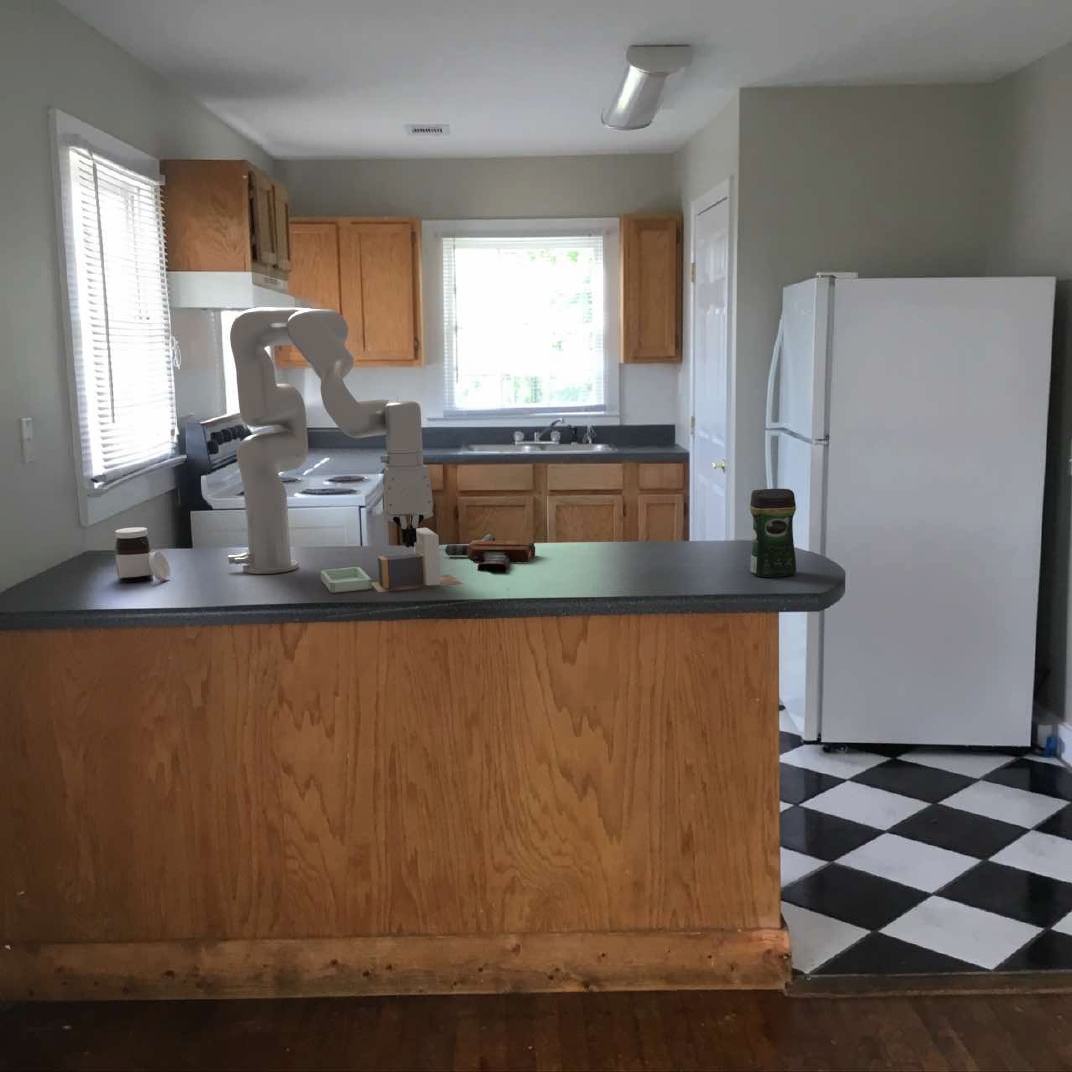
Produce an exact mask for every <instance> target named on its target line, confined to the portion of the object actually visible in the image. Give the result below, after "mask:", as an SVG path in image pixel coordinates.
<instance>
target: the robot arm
mask: <svg viewBox="0 0 1072 1072" xmlns="http://www.w3.org/2000/svg"><path fill="white" fill-rule="evenodd" d="M348 336H349V327H348V324H347V321H346V319H345V318H344V316H343V315H342V314H341V313H339V312H338V311H337V310H334V309H328V308H327V309H321V308H320V309H318V308H317V309H316V308H307V307H306V308H305V307H268V306H267V307H255V308H249V309H247V310H245V311H243V312H241V313H239V314H238V315H237V316H236V318H235V319H234V320H233V322H232V325H231V328H230V333H229V341H230V347H231V352H232V356H233V357H232V358H233V361H234V366H235V371H236V373H235V374H236V375H235V376H236V377H235V378H236V388H237V397H238V408H239V414H240V418H241V420H242V422H243V423H244V425H246V426H249V427H251V428H266V427H273V428H274V429H273V430H274V431H269V432H268V431H267V432H261V433H254V434H251V435H248V436H247V437H244V438H243V439H242V440H241V442H240V443H239V444H238V446H237V448H236V449H237V450H236V461H237V466H238V469H239V472H240V475H241V481H242V487H243V496H244V497H243V498H244V508H245V520H246V532H247V549H245V552H242V553H241V554H232V555H227V556H228V557H227V558H228V564H229V565H231V564H235V565H241V564H243V565H242V571H243V572H244V573H246V574H252V575H271V574H282V573H286V572H291V571H294V570H296V569H298V567H299V562H298V561H297V560H295V559H292V556H291V555H292V554H291V553H292V552H291V541H290V540H291V538H290V529H289V528H290V527H289V511H288V495H287V491H286V487H285V484H284V482H283V480H282V478H281V477H280V475H279V473H284V472H291V471H295V470H298V469H300V468H301V467H303V466H304V465H305V463H306V461H307V460H308V459H307V458H308V455H309V441H308V439H309V437H308V428H307V427H308V426H307V425H308V423H307V414H306V405H305V401H304V399H303V396H302V394H301V393H300V391H299V390H298V389H297V388H296V387H295V386H294V385H291V384H288V383H276V371H275V366H274V363H273V360H272V358H271V356H270V354H269V353H268V351H267V350H266V348H267V347H282V346H283V347H284V346H285V347H287V346H295V348H296V349H297V350H298V352H299V353H300V354H301V356H302V357H303V358H304V359H305V361H306V363H308V365H309V366H310V368H311V369H312V370H313V371H314V373H315V374H316V376H318V378H319V380H320V395H321V400H322V405H323V407H324V410H325V411H326V413H327V415H329V417H330V418H331V419H332V421H333V422H334V423H335V424H336V426H337V427H338V428H339V429H340V431H342V432H343V433H344V434H345V435H346V436H348V437H351V438H354V439H362V438H368V437H376V436H377V437H378V436H383V435H385V445H386V446H385V447H386V452H385V455H383V456H380V457H379V461H380V463H381V464H386V466H387V467H384V471H383V478H382V496H381V497H382V498H381V499H382V500H381V501H382V510H383V511H382V512H383V513H382V519H383V520H384V521H386V522H392V523H393V522H394V523H395V524H396V525H397V526H399V527H400V537H401V544H403V545H404V547H406V548H410V547H411V548H414V547H415V543H414V542H417V534H416V529H417V528H418V527H419V525H420V524H421V523H422V521H423V520H425V519H429V518H432V517H433V516H434V513H433V510H434V501H433V499H434V498H433V493H432V492H433V491H432V482H431V478H430V471H429V468H428V466H427V465H425V464H424V454H423V453H424V451H423V449H424V448H423V433H422V432H423V431H422V429H423V427H422V412H421V410H422V409H421V405H420V404H419V403H418V402H417V401H411V400H410V401H409V400H403V401H393V400H389V399H374V400H373V399H372V400H361V401H360V400H359V401H358V400H356V398H355V397H354V396H353V394H352V393H351V392H350V391H349V389H348V388H347V386H346V385H345V382H344V378H345V377H347V376H348V375H349V373H350V372H351V371H352V369H353V366H354V362H355V360H354V357H353V355H352V354H351V352H349V350H348V349H347V347H346V346H345V345H344V344H345V342H346V340H347V339H348ZM406 516H410V517H409V524H408V523H407V519H406Z"/></svg>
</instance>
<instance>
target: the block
mask: <svg viewBox="0 0 1072 1072" xmlns="http://www.w3.org/2000/svg"><path fill="white" fill-rule="evenodd" d="M377 565H378V567H377V568H378V569H377V570H378V582H379V585H380V586H381V587H382V588H392V587H402V586H411V585H421V584H425V566H424V552H423V553H417V554H414V553H407V554H398V555H397V554H396V555H387V556H382V555H381V556H380V555H379V556H377Z"/></svg>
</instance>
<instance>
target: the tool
mask: <svg viewBox="0 0 1072 1072" xmlns="http://www.w3.org/2000/svg"><path fill="white" fill-rule="evenodd" d="M444 552H445V554H446V555H447V556H448V557H449V556H452V557H453V556H454V557H455V556H456V557H457V556H459V557H461V556H462V557H464V556H467V558H468V559H469V561H471V562H472V561H473V563H478V565H477V567H476V568H477V571H486V572H488V573H489V572H492V573H496V574H497V573H498V574H507V573H508V568H509V566H510V565H511V563H510V562H527V563H528V562H529V561H530V560H529V559H531V560H533V559H534V558H535V557H534V556H536V545H535V541H534V540H496V537H495V536H494V535H493V534H491V533H489V534H486V535H485V536H484V538H482V539H481V540H472V541H471V542H470V543H469V544H448V545H446V546H445V548H444ZM533 557H534V558H533ZM532 558H533V559H532Z"/></svg>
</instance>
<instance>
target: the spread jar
mask: <svg viewBox="0 0 1072 1072" xmlns="http://www.w3.org/2000/svg"><path fill="white" fill-rule="evenodd" d="M114 533H115V534H114V535H115V542H114V553H115V564H116V565H115V566H116V574H117V580H118V582H119V583H121V584H128V585H130V584H134V585H135V584H141V583H142V584H143V583H147V582H149V581H152V580H153V577H154V578H155V579H157V580H158V581H159V582H164V581H168V580H169V579H170V578H171V568H170V564H169V562H168V560H167V557H165V555H164V554H163V553H162V552H161V551H159V550H156V551H154V552H152V547H151V546H152V545H151V541H150V539H149V537H148V534H149V533H148V528H147V527H142V526H141V527H139V526H138V527H137V526H136V527H126V528H125V527H124V528H120V529H117V530H115V531H114Z"/></svg>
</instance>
